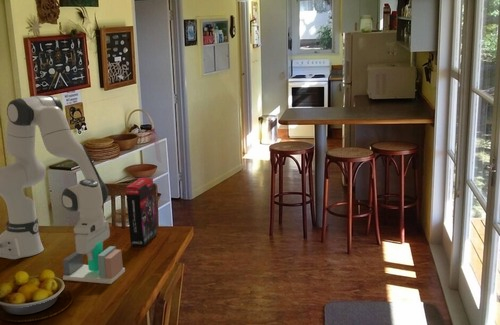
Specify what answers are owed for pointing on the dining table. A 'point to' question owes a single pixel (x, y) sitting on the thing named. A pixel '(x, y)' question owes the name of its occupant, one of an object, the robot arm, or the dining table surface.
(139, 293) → the dining table surface
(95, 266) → the candle
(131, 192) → the graphics card box
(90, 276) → the white base with blocks
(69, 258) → the bookend
